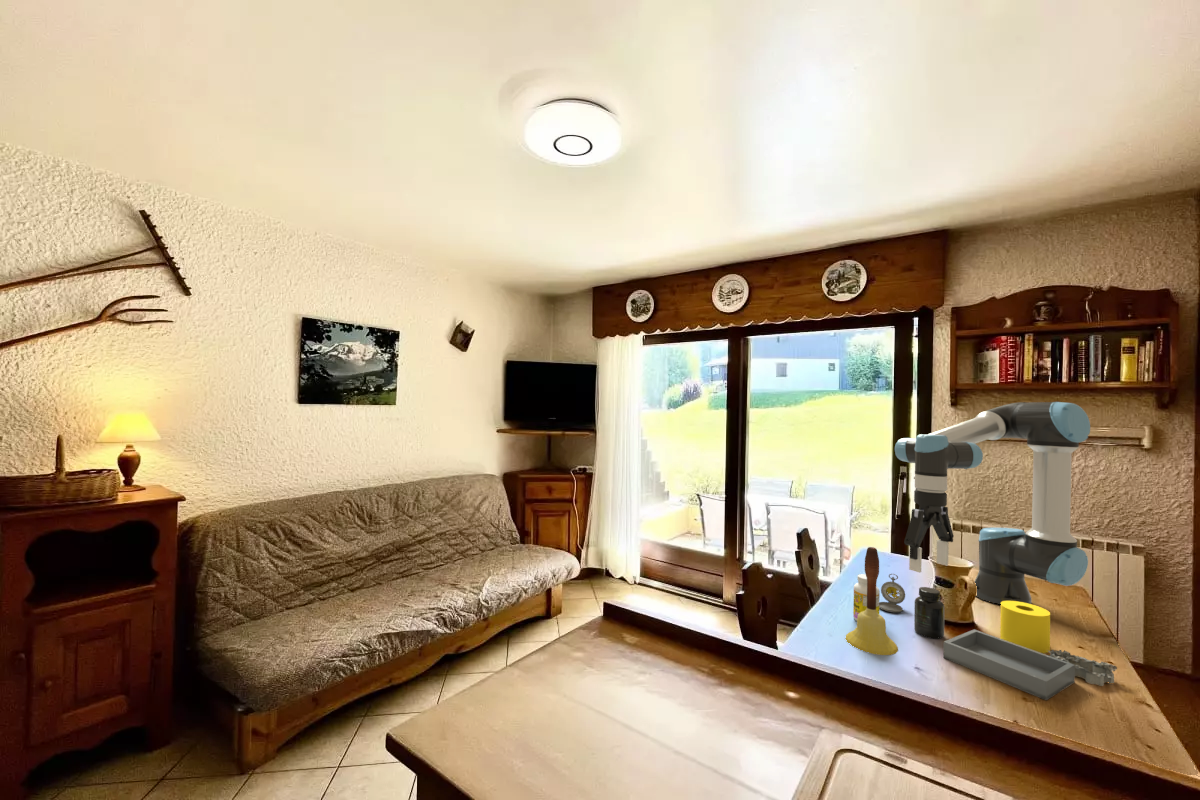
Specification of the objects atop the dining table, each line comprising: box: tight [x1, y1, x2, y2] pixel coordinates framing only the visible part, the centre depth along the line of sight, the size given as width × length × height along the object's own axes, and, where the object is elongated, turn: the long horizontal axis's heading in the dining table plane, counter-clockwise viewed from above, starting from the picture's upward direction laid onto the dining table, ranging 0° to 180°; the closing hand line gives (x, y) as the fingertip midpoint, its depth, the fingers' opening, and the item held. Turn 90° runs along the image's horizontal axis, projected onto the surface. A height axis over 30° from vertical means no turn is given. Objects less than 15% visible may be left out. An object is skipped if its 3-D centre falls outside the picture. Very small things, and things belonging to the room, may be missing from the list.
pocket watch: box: [879, 573, 906, 614], centre depth 153 cm, size 8×8×10 cm
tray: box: [942, 628, 1076, 701], centre depth 118 cm, size 15×20×4 cm
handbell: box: [844, 546, 899, 656], centre depth 130 cm, size 12×12×25 cm
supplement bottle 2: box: [913, 586, 945, 640], centre depth 136 cm, size 7×7×12 cm
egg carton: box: [1047, 649, 1118, 687], centre depth 117 cm, size 11×8×4 cm
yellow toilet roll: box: [999, 601, 1051, 654], centre depth 131 cm, size 10×10×9 cm
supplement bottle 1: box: [852, 573, 881, 622], centre depth 143 cm, size 7×7×13 cm
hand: (929, 567), depth 136 cm, fingers open, 13 cm apart
